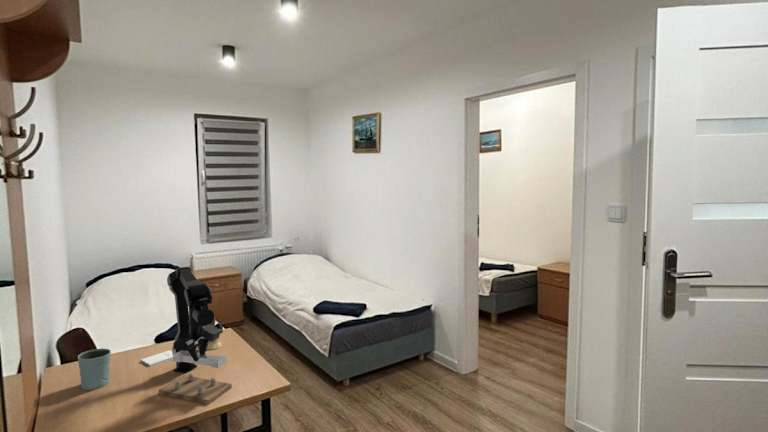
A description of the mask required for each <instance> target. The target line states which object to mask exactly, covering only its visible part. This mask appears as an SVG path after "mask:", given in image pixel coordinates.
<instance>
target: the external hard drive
mask: <svg viewBox="0 0 768 432" xmlns="http://www.w3.org/2000/svg"><path fill="white" fill-rule="evenodd" d="M171 360H173V354H172V349H169V350H166V351H164V352H160V353H157V354H153V355H151V356H150V355H149V356H148V357H144V358H141V359H140V363H142V364H144V365H146V366H148V367H149V368H151V367H153V366H156V365H159V364H162V363H165V362H169V361H171Z"/></svg>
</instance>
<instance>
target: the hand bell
mask: <svg viewBox="0 0 768 432" xmlns="http://www.w3.org/2000/svg"><path fill="white" fill-rule="evenodd" d="M210 325H216V316H215V315H214V320H213V322H212V323H211V324H210ZM219 339H220V338H218V339H216V340H214V341H212V342H209V343H208V346H207V349H206V351H215V350H218V349H221V348H222V347H223V343H222V342H221V341H220V340H219Z"/></svg>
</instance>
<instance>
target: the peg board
mask: <svg viewBox="0 0 768 432" xmlns="http://www.w3.org/2000/svg"><path fill="white" fill-rule="evenodd" d="M232 385H233V384H232V383H227V382H223V381H217V380H216V377H211V378H210V379H208V378H203V377H196V376H194V373H193V372H191V373H189V374H188V375H185V374H184V375H182V376H180V377H179V378H176V379H175V380H173V381H171V382H170V383H167V384H166V385H165V386H163V387H162V388H159V389H158V394H159V395H161V396H168V397H172V398H176V399H177V398H178V399H182V400H187V401H192V402H195V403H201V404H205V405H210V404H211V403H213V402H214V401H216V400H217V399H219V398H220V397H221V396H222V395H224V394H225V393H227V392H228V391H229V390H231V389H232V388H233V387H232Z"/></svg>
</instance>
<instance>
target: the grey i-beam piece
mask: <svg viewBox="0 0 768 432" xmlns="http://www.w3.org/2000/svg"><path fill="white" fill-rule="evenodd" d="M172 361H173V362H175V363H176V362H188V363H194V364H195V365H202V366H209V367H210V368H213V369H219V368H221V367H222V366H224V365H225V364H227V355H220V354H219V355H213V354H207V353H205V354H200V353H199V352H198V361H197V362H196V361H194V360H193V358H192V356H191V355H190V353H189V352H188V351H183V350H181V351H179V352H178V353H176V354H174V355H173V359H172Z"/></svg>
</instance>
